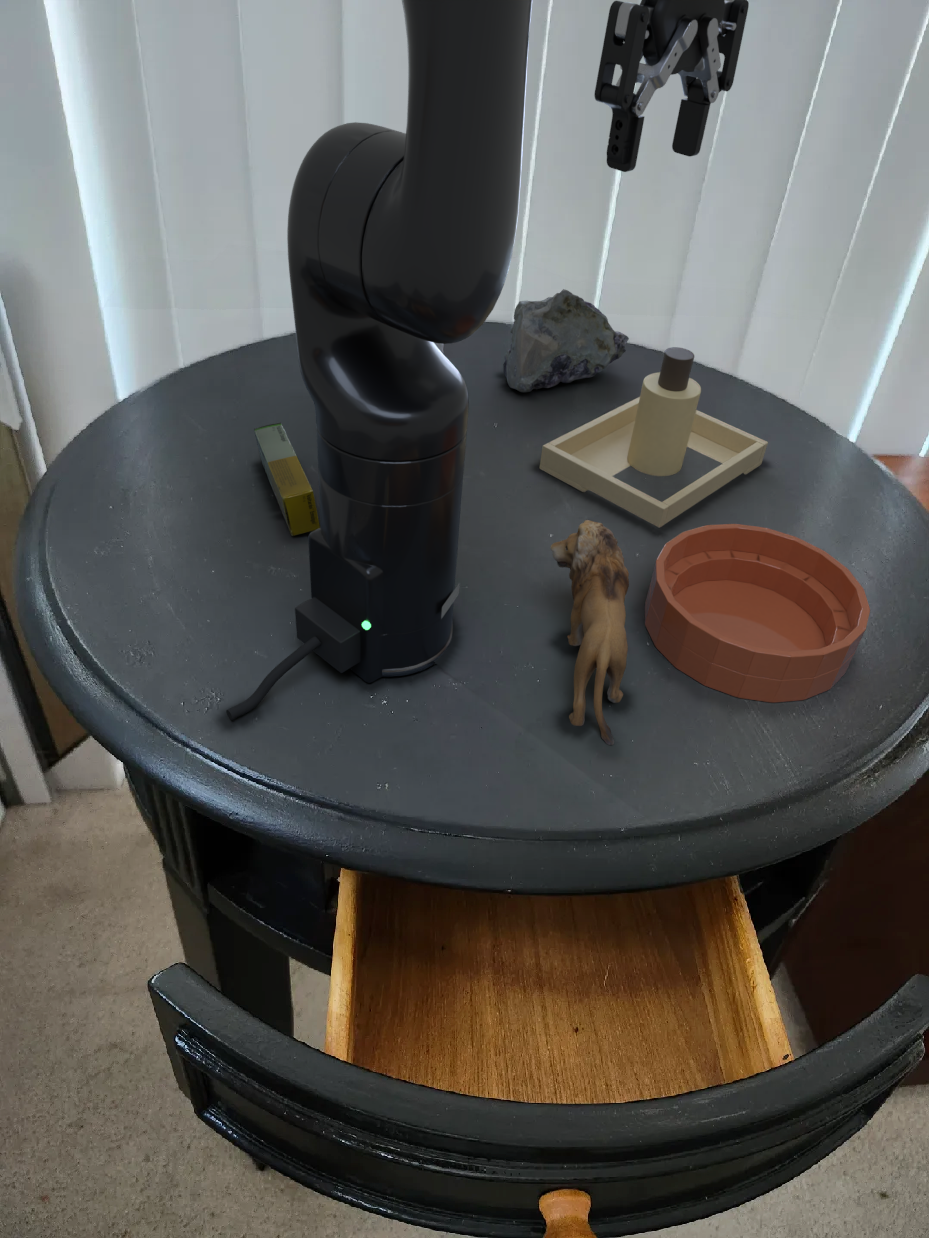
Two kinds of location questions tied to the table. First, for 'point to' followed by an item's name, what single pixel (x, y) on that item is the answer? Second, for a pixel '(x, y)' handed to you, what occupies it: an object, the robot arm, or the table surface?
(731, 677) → the bowl
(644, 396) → the bottle
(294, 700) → the table surface
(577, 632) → the lion figurine
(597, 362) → the mineral rock
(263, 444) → the medication box
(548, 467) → the tray
